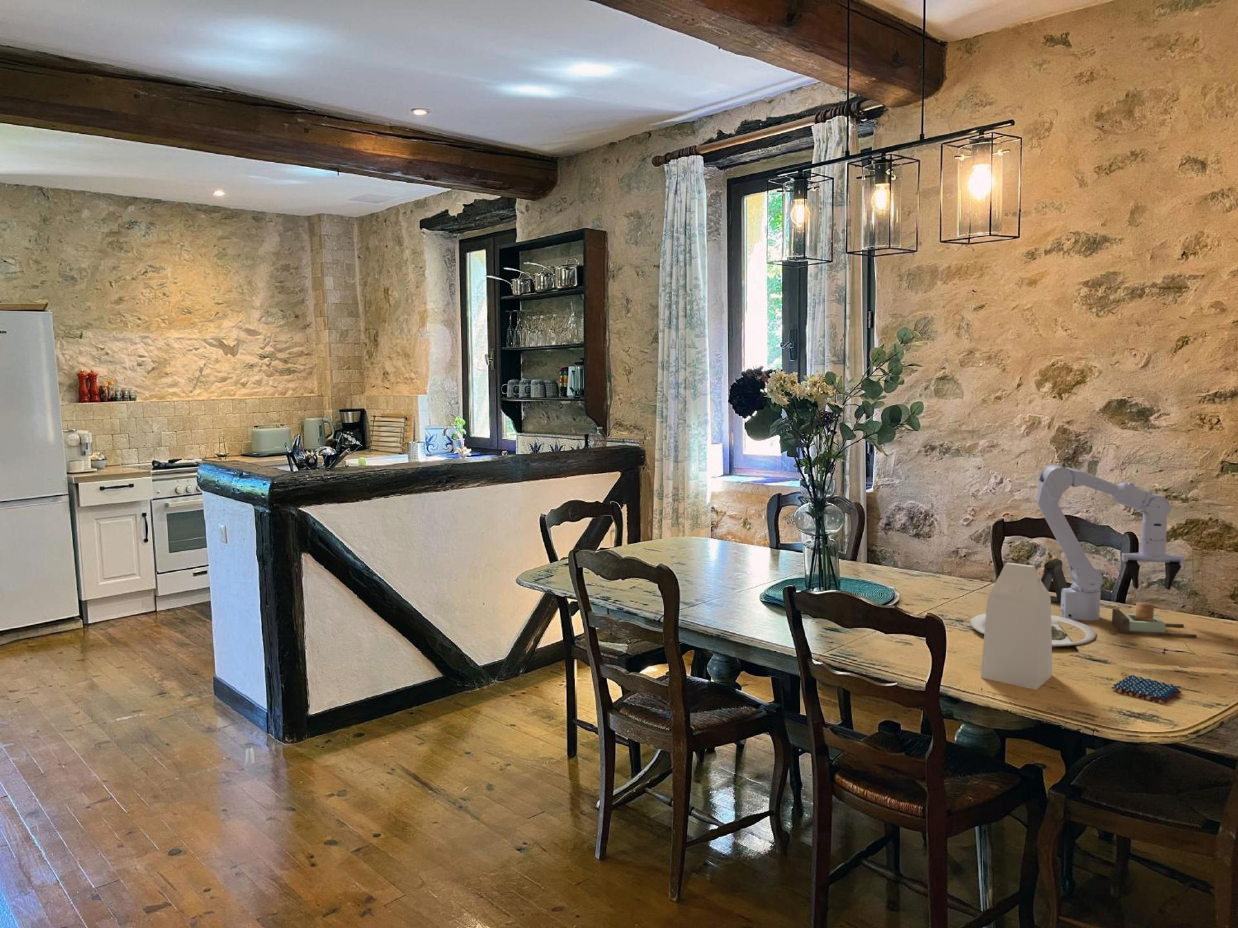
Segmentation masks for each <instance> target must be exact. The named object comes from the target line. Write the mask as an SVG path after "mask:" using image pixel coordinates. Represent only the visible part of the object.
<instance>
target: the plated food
mask: <svg viewBox="0 0 1238 928" xmlns="http://www.w3.org/2000/svg"><path fill="white" fill-rule="evenodd" d="M985 620H986V612H985V613H982V614H978V615H975V616H974V617H972V618H971V619H970V626H971V627H972V628H973V629H974V630H975V631H977V632H979V633H981V634H982V635H984V632H985ZM1059 622H1061V623H1066V624H1068V625H1071V626H1073V627H1077V628H1078V629H1079V630H1082V631H1083V632H1084V634H1085V636H1084V638H1082V639H1081V640H1078V641H1075V642H1073V641H1072V638H1070V636H1069V635H1068V634H1067V633H1066V631H1065V630H1064V628H1063V627H1062V625H1060V623H1059ZM1051 635H1052V648H1053V647H1054V648H1055V647H1058V648H1059V647H1066V646H1067V647H1070V646H1076V645H1077V646H1078V645H1082V644H1087V643H1089V642H1092V641H1093V640H1094V639H1095V638H1096V635H1097V634H1096V631H1095V630H1094V629H1093V627H1091V626H1089V625H1087V624H1085V623H1082V622H1080V621H1079V620H1074V619H1068V618H1064V617H1063V616H1058V615H1054V614H1051Z"/></svg>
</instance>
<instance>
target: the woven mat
mask: <svg viewBox="0 0 1238 928" xmlns="http://www.w3.org/2000/svg"><path fill="white" fill-rule="evenodd" d="M1181 688H1182V687H1181V686H1180V685H1176V684H1173V683H1166V682H1164V681H1163V682H1162V681H1158V680H1157V679H1156V680H1155V679H1154V680H1153V679H1151V678H1146V677H1145V678H1144V677H1143V676H1138V675H1135V674H1131V675H1128V676H1127V677H1125V678H1123V679H1122V680H1119V681H1117V682H1116V684H1115V683H1114V684H1113V686H1111V689H1112V691H1111V692H1113V693H1116V692H1117V693H1119V694H1123V695H1125V696H1127V695H1129V696H1130V697H1133V696H1134V697H1135V698H1139V697H1140V699H1143V700H1144V699H1145V700H1146V701H1151V700H1152V701H1151V702H1152V703H1155V702H1157V701H1158V703H1159V704H1163V703H1167V702H1168V701H1169V700H1170V699H1173V697H1175V696H1176V695H1177V694H1179V693H1182V690H1180V689H1181Z"/></svg>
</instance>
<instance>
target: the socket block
mask: <svg viewBox="0 0 1238 928" xmlns="http://www.w3.org/2000/svg"><path fill="white" fill-rule="evenodd" d="M1122 613H1123V612H1122ZM1123 614H1124V615H1125V616H1126V617H1127V618H1128V619H1129V631H1140V632H1158V633H1166V627H1165V623H1166V622H1164V621H1163V620H1162V619H1161V618H1159V617H1158V616H1157V615H1156V614H1154V616H1153V622H1149V621H1135V616H1136V613H1123Z"/></svg>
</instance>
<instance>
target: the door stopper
mask: <svg viewBox="0 0 1238 928" xmlns="http://www.w3.org/2000/svg"><path fill="white" fill-rule="evenodd" d="M1063 565H1064V564H1063V561H1062V560H1061V559H1060V558H1058V559H1056V558H1054V559H1051V560H1049V561H1047V562H1046V563H1044V565H1043V566H1044V567H1043V568H1044V572H1043V573H1042V576H1041V577H1040V580H1041V581H1042V583H1043V584H1044V586H1045V587H1046V589H1047V590H1048V592H1049V591H1050V587H1051V584H1052V583H1053V587H1054V591H1055V595H1056V596H1055V595H1050V598H1051V603H1055V604H1060V605H1061V592H1062V589H1063V588H1069V586H1068V584H1067V579H1066V577H1065V575H1064V571H1063Z"/></svg>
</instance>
